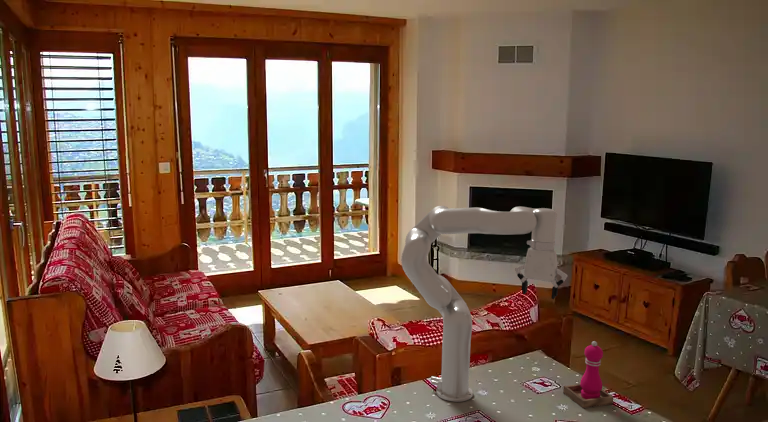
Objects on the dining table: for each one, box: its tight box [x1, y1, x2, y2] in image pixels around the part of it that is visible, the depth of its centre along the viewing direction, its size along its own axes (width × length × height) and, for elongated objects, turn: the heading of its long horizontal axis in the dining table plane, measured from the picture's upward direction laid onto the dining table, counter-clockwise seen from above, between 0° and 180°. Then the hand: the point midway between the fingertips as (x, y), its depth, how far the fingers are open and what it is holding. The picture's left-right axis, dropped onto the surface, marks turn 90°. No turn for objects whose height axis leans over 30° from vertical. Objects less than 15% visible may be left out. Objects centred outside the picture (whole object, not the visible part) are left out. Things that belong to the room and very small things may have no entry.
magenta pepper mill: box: [579, 340, 604, 399], centre depth 204 cm, size 7×7×20 cm
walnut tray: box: [563, 383, 614, 409], centre depth 205 cm, size 12×12×3 cm
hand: (539, 295), depth 201 cm, fingers open, 9 cm apart
